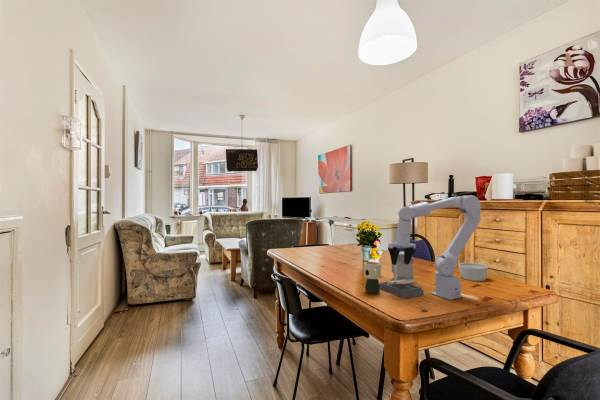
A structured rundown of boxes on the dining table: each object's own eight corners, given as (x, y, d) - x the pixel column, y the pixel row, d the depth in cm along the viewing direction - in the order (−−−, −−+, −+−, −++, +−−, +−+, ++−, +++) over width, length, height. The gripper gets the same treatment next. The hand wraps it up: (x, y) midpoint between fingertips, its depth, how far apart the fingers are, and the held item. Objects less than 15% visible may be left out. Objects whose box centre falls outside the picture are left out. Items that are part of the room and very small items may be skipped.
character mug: (361, 289, 136) (361, 260, 136) (376, 288, 136) (376, 260, 137) (367, 296, 125) (367, 266, 125) (384, 296, 126) (384, 265, 126)
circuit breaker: (405, 278, 155) (405, 249, 156) (413, 285, 141) (413, 254, 141) (391, 277, 156) (391, 249, 156) (397, 285, 142) (397, 254, 142)
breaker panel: (423, 294, 128) (423, 287, 128) (405, 298, 123) (405, 291, 123) (395, 285, 142) (395, 278, 142) (378, 288, 137) (378, 281, 137)
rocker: (413, 282, 129) (413, 278, 130) (403, 284, 127) (403, 280, 127) (397, 283, 138) (396, 279, 138) (387, 284, 135) (386, 281, 136)
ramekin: (492, 282, 146) (492, 268, 146) (463, 281, 149) (463, 267, 149) (481, 276, 159) (481, 263, 160) (455, 275, 162) (455, 262, 162)
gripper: (408, 232, 138) (405, 261, 139) (384, 231, 132) (381, 262, 132) (420, 235, 132) (417, 265, 132) (396, 234, 126) (393, 266, 126)
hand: (400, 264), depth 132 cm, fingers open, 7 cm apart
